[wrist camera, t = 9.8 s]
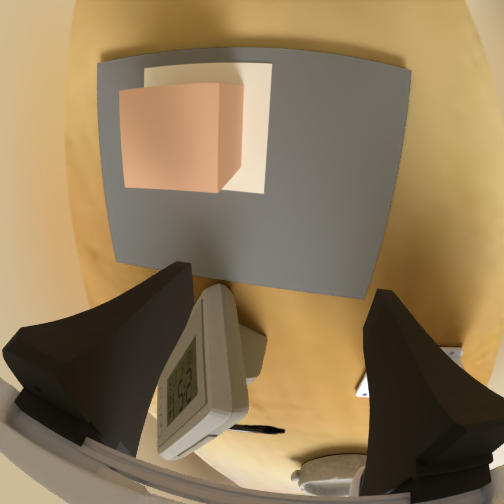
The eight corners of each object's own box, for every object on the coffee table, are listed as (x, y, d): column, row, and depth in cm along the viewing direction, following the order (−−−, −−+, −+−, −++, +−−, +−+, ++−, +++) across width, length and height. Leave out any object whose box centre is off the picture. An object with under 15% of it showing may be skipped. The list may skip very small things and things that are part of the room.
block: (244, 85, 15) (219, 82, 11) (241, 167, 18) (217, 193, 13) (164, 88, 16) (119, 90, 12) (166, 163, 18) (124, 187, 14)
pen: (285, 423, 34) (284, 429, 33) (285, 431, 35) (284, 437, 34) (185, 413, 37) (182, 417, 36) (187, 421, 38) (185, 425, 37)
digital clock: (222, 266, 23) (169, 378, 14) (306, 331, 25) (295, 446, 16) (140, 350, 31) (97, 426, 22) (204, 393, 32) (177, 470, 23)
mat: (407, 71, 14) (411, 70, 13) (363, 292, 22) (364, 300, 21) (104, 63, 16) (96, 63, 15) (120, 257, 24) (115, 262, 23)
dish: (382, 445, 34) (383, 474, 30) (377, 471, 40) (377, 494, 36) (288, 453, 39) (284, 480, 34) (302, 477, 45) (299, 499, 40)
